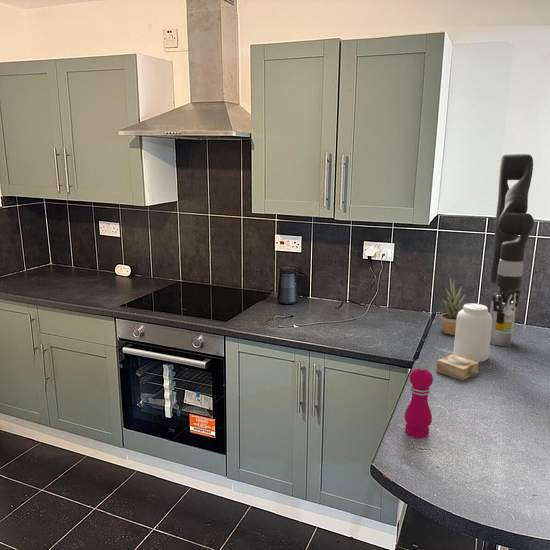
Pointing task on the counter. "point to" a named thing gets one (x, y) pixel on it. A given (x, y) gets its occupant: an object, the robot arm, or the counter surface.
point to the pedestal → (457, 366)
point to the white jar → (473, 332)
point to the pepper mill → (419, 403)
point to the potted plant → (451, 310)
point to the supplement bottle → (506, 320)
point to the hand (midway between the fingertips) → (504, 321)
